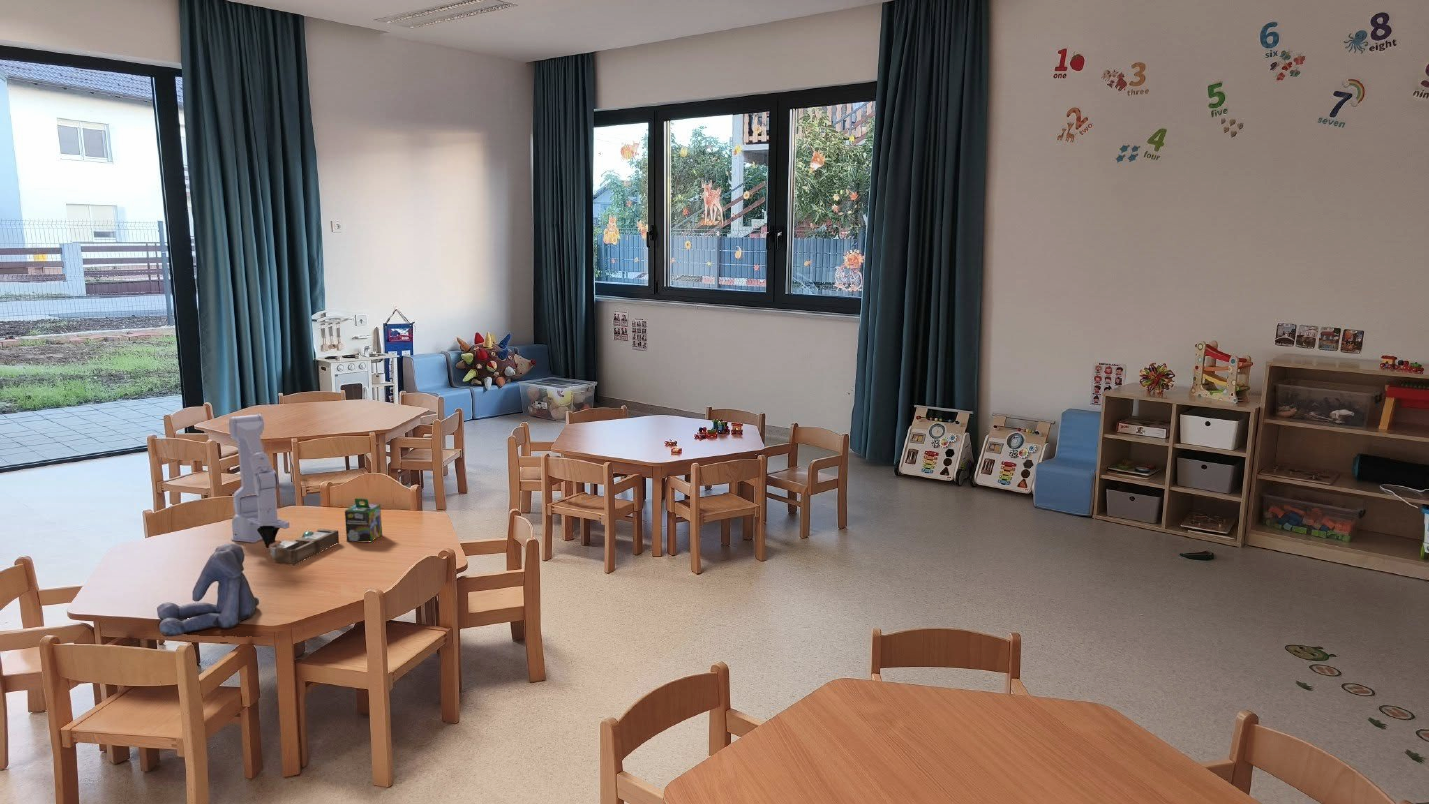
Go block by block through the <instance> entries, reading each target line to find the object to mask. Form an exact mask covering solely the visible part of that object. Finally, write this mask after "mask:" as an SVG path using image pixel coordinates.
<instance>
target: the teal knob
mask: <svg viewBox="0 0 1429 804" xmlns="http://www.w3.org/2000/svg"><path fill="white" fill-rule="evenodd" d="M326 534H329V533H324V532H317V531H316V532H313V531H308V530H306V531H305V532H304V533H303V534H302V536H301V537H302V538H311V539H318V538H320V537H322V536H324V535H326Z"/></svg>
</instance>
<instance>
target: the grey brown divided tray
mask: <svg viewBox="0 0 1429 804" xmlns="http://www.w3.org/2000/svg"><path fill="white" fill-rule="evenodd" d="M316 532H324V533H329V534H326V535H324V536H322V537H320V538H318V539H311V538H302V536H301V537H299V538H296V539H295V541H294V542H298V544H299V547H298V548H296V549H285V548H276V549H275V558H274V560H275V563H276V564H281V565H283V564H284V565H290V564H292V566H296V565H298V564H300V563H301V561H302V562H304V561H305V560H304V559H306V560H308V559H310V558H312V557H314V556H316V555H318V554H320V553H322V552H321V551H322V550H325V549H326V548H329V547H330V546H332V545H334V544H336V543H340V540H339V539H340V538H339V535H340V534H339V530H335V529H326V528H319V529H317V530H316ZM329 549H330V548H329ZM325 551H326V550H325ZM319 552H320V553H319ZM317 553H318V554H317ZM313 555H314V556H313ZM311 556H312V557H311ZM309 557H310V558H309ZM307 558H308V559H307ZM303 560H304V561H303ZM299 562H300V563H299ZM295 564H296V565H295Z"/></svg>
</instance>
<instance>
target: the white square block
mask: <svg viewBox="0 0 1429 804" xmlns="http://www.w3.org/2000/svg"><path fill="white" fill-rule="evenodd" d="M298 547H299V544H298V542H295V541H292V540H283V541H281V540H276V539H275V540H273V541H271V543H270V544H269V548H268V552H269V553H270V558H271V559H275V549H276V548H285V549H296V548H298Z"/></svg>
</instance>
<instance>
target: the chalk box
mask: <svg viewBox="0 0 1429 804" xmlns="http://www.w3.org/2000/svg"><path fill="white" fill-rule="evenodd" d="M360 502H362V503H360ZM354 503H355V504H353V505H351V506H350V507H349V508H347V509H345V510H344V519H345V532H346V533H345V535H346V537H345V538H346V541H347V540H348V541H347V542H354V541H372V540H373V539H374V538H376V539H378V538H379V537H380V535H381V534H382V535H383V526H382V511H381V510H382V509H381V504H380V503H369V500H368V499H367V498H357V497H356V498H354ZM382 535H381V536H382ZM378 536H379V537H378ZM377 537H378V538H377ZM373 541H374V540H373ZM373 541H372V542H373Z"/></svg>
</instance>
